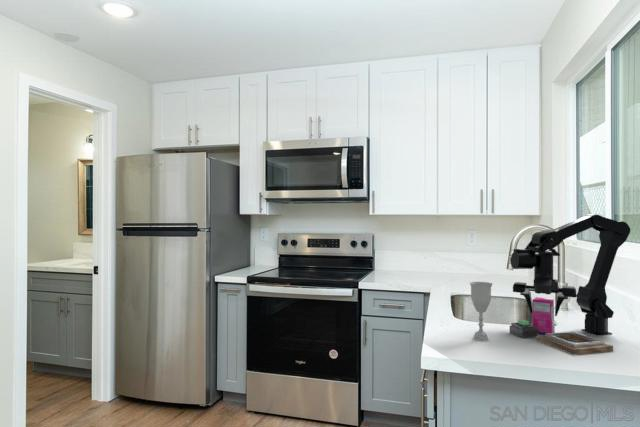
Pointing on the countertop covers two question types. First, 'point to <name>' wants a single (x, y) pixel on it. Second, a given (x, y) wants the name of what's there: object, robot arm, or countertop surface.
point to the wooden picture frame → (584, 347)
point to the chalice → (481, 305)
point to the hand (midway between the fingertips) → (543, 314)
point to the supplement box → (543, 315)
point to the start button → (523, 322)
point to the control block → (523, 330)
